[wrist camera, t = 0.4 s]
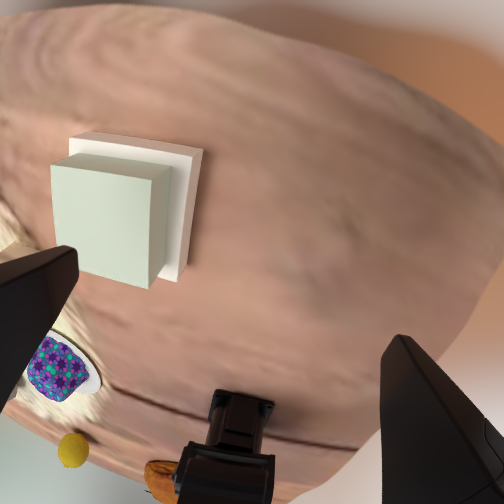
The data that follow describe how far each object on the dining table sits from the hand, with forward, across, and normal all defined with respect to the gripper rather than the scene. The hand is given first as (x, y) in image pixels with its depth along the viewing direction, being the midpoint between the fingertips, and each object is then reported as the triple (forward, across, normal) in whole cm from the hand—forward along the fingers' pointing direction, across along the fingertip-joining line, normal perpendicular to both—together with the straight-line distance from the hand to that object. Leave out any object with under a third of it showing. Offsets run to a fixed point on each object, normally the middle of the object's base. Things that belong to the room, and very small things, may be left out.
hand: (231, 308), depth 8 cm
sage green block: (+12, +9, +4) cm, 15 cm away
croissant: (+15, +1, +54) cm, 56 cm away
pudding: (+15, +20, +28) cm, 38 cm away
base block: (+15, +9, +4) cm, 18 cm away
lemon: (+15, +21, +51) cm, 57 cm away
